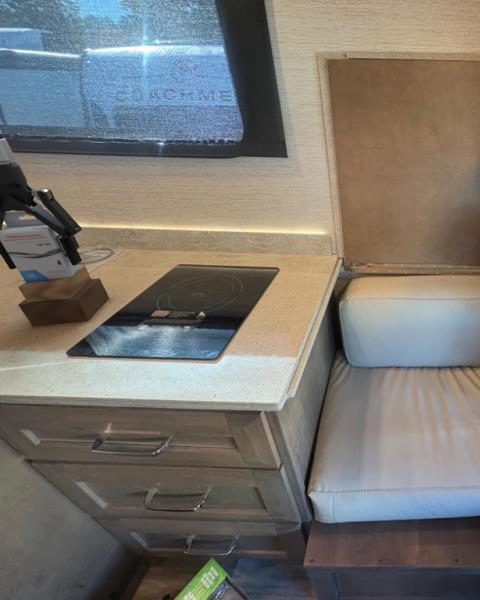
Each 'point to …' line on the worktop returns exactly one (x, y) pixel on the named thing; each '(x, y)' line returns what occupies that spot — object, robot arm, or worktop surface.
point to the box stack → (63, 299)
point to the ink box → (35, 248)
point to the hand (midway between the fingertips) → (47, 264)
